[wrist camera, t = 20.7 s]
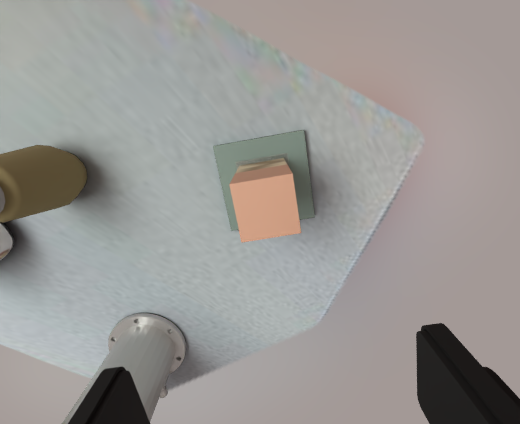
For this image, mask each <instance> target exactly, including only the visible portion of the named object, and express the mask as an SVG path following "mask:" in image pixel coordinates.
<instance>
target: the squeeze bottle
mask: <svg viewBox="0 0 520 424" xmlns="http://www.w3.org/2000/svg"><path fill="white" fill-rule="evenodd" d="M86 181H87V171H86V169H85V167H84V165H83V163H82V162H81V161H80V160H79V159H78V158H77V157H76V156H75V155H73V154H71V153H69V152H66V151H63V150H60V149H57V148H54V147H51V146H43V145H35V146H31V147H27V148H23V149H19V150H15V151H11V152H7V153H3V154H0V222H2V223H4V222H8V221H11V220H15V219H19V218H22V217H26V216H30V215H33V214H37V213H41V212H45V211H48V210H52V209H56V208H59V207H62V206H65V205H68V204H70V203H71V202H72V201H73V200H74V199H75V198H76V197H77V196H78V194H79V193H80V192H81V190H82V189H83V188H84V186H85V184H86Z"/></svg>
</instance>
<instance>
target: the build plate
mask: <svg viewBox="0 0 520 424" xmlns="http://www.w3.org/2000/svg"><path fill="white" fill-rule="evenodd" d="M213 149H214V154H215V158H216V163H217V167H218V172H219V176H220V181H221V185H222V190H223V195H224V199H225V204H226V208H227V213H228V217H229V222H230V227H231V231H234V230H239V228H238V223H237V219H236V214H235V209H234V204H233V200H232V195H231V190H230V186H229V184H230V182H231V180H232V178H233V176H234V175H235V173H236V171H237V169H238V167H239V166H241V165H246V164H252V163H258V162H264V161H269V160H275V159H281V158H284V159H285V161H286V163H287V165H288V166H289V168H290V170H291V171H292V173H293V180H294V187H295V193H296V200H297V207H298V214H299V220H302V219H308V218H314V217H315V215H314V207H313V199H312V191H311V183H310V175H309V167H308V159H307V151H306V143H305V135H304V130H300V131H294V132H289V133H283V134H278V135H272V136H267V137H261V138H256V139H250V140H244V141H239V142H233V143H228V144H222V145H217V146H213Z"/></svg>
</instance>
